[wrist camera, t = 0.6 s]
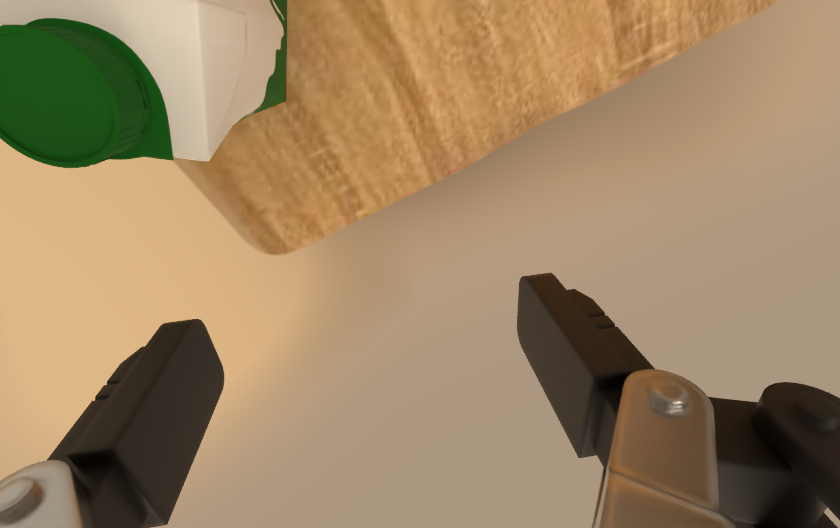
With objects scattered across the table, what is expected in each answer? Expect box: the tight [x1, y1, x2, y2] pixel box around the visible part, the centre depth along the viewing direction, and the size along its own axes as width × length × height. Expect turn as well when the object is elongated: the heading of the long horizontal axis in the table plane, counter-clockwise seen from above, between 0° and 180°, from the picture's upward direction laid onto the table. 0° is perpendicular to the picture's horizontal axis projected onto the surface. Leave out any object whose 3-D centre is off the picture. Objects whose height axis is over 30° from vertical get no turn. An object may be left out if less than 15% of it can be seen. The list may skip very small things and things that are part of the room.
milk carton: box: [0, 0, 287, 168], centre depth 20 cm, size 9×9×20 cm
